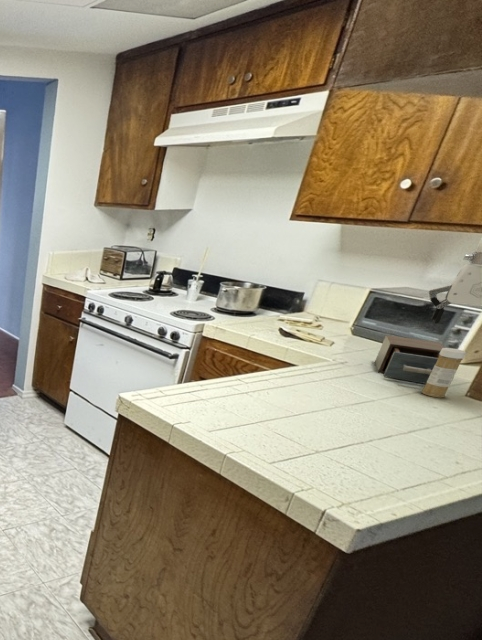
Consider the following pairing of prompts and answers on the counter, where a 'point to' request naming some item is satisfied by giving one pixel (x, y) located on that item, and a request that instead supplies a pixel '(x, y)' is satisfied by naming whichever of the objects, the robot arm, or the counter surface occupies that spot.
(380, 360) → the cabinet
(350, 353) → the counter surface
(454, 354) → the sprinkles bottle
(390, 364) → the drawer
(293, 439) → the counter surface
